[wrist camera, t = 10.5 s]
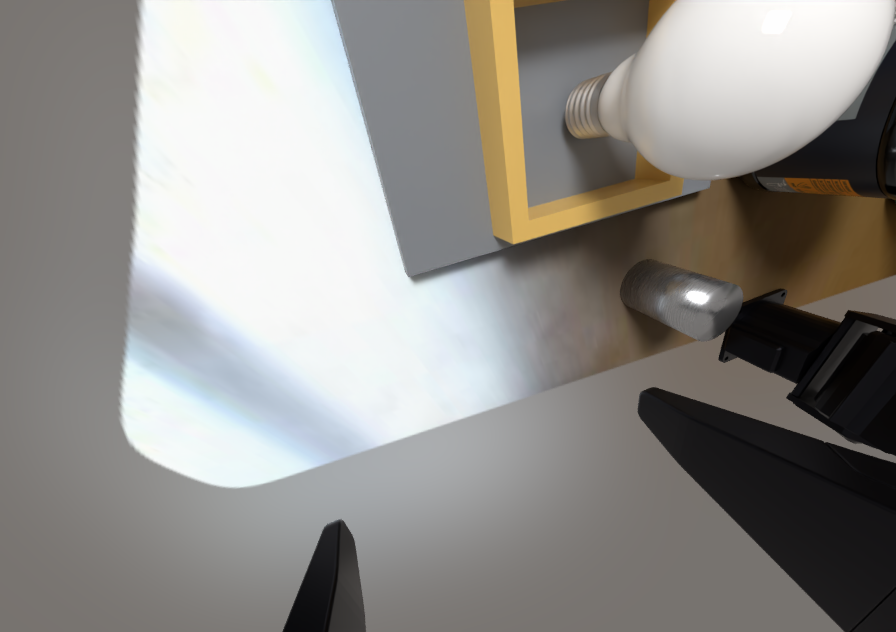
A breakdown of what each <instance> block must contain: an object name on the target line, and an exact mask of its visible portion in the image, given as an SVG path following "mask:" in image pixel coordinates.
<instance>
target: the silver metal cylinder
mask: <svg viewBox="0 0 896 632" xmlns="http://www.w3.org/2000/svg"><path fill="white" fill-rule="evenodd" d="M620 296H621V300H622V301H623V303H624V304H625V305H627V306H629V307H631V308H633V309H635V310H637V311H639V312H641V313H643V314H645V315H647V316H649V317H651V318H653V319H655V320H658V321H660V322H662V323H664V324H666V325H668V326H670V327H672V328H674V329H676V330H678V331H680V332H682V333H684V334H686V335H688V336H690V337H692V338H694V339H696V340H699V341H709V340H712V339H714V338H716V337H718V336H719V335H721V334H722V333H723V332H724V331H725V330H726V329H728V327H729V326H730V325H731V324H732V323H733V321H734V320H735V318H736V317H737V315H738V313H739V311H740V309H741V306H742V302H743V292H742V289H741V288H740V287H739V286H737V285H735V284H732V283H728V282H725V281H722V280H718V279H715V278H712V277H709V276H705V275H702V274H699V273H695V272H692V271H689V270H685V269H682V268H679V267H676V266H672V265H669V264H666V263H662V262H659V261H656V260H652V259H646V260H643V261H641V262H639V263H637V264H636V265H634V266H633V267H632V268H631V269H630V270H629V272H628V273H627V274H626V276H625V278H624V280H623V282H622V285H621V289H620Z"/></svg>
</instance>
